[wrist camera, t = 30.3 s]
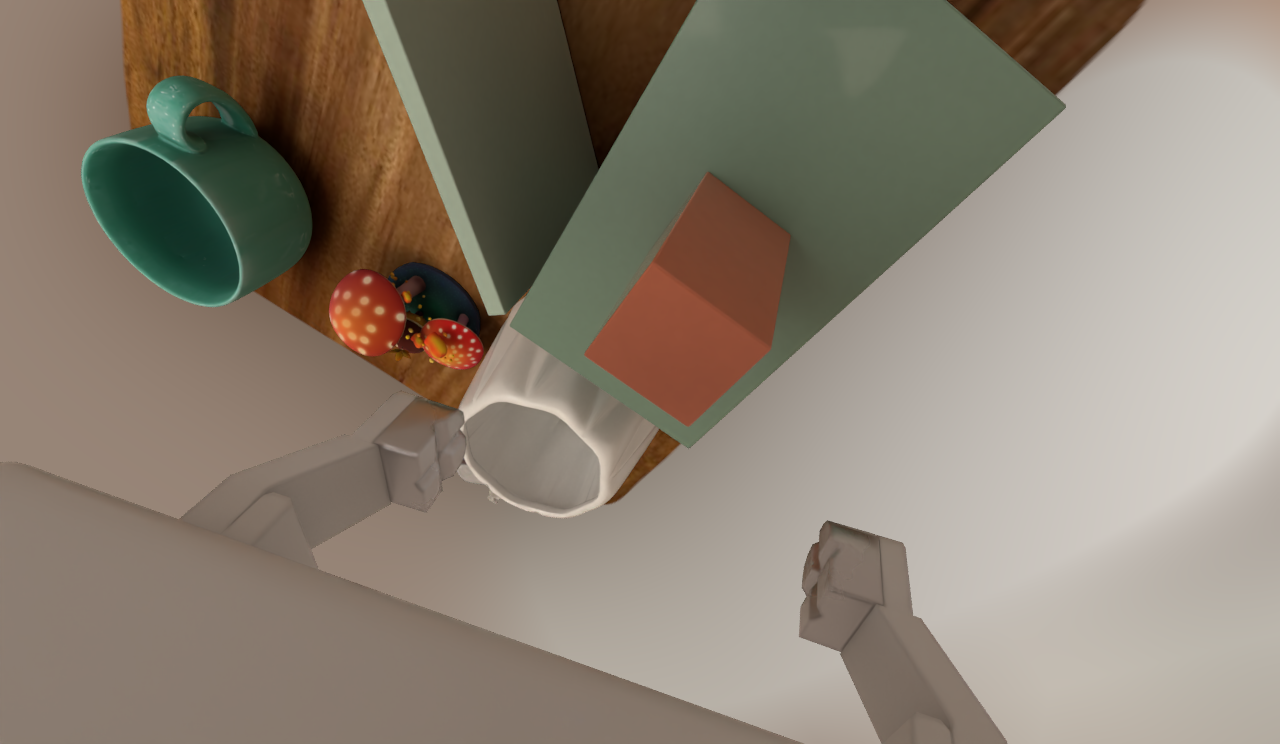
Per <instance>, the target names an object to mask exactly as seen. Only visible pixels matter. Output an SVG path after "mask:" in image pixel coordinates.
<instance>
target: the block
mask: <svg viewBox="0 0 1280 744" xmlns="http://www.w3.org/2000/svg"><path fill="white" fill-rule="evenodd" d="M790 239H791V235H790V234H789V233H788V232H786V231H785V230H784V229H782V228H781V227H780V226H778V225H777V224H776V223H775V222H773V221H772V220H771V219H769V218H768V217H767V216H765V215H764V214H763V213H762V212H760V211H759V210H758V209H756V208H755V207H754V206H752V205H751V204H750V203H749V202H747V201H746V200H745V199H743V198H742V197H741V196H739V195H738V194H737V193H736V192H734V191H733V190H732V189H730V188H729V187H728V186H726V185H725V184H724V183H722V182H721V181H720V180H719V179H717V178H716V177H715V176H713V175H712V174H711V173H709V172H706V173H705V174H704V176H703V177H702V179H701V180H700V181H699V183H698V184H697V185H696V187H695V188H694V190H693V191H692V192H691V194H690V195H689V197H688V198H687V199H686V201H685V202H684V203H683V205H682V206H681V208H680V209H679V210H678V212H677V213H676V215H675V216H674V217H673V219H672V220H671V221H670V223H669V224H668V226H667V227H666V228H665V230H664V231H663V233H662V234H661V235H660V237H659V238H658V239H657V241H656V242H655V244H654V245H653V246H652V248H651V249H650V251H649V252H648V254H647V255H646V257H645V259H644V260H643V262H642V263H641V265H640V266H639V268H638V270H637V271H636V273H635V274H634V276H633V277H632V279H631V281H630V282H629V284H628V285H627V287H626V288H625V290H624V292H623V293H622V295H621V296H620V298H619V299H618V301H617V302H616V304H615V306H614V307H613V309H612V310H611V312H610V313H609V315H608V317H607V318H606V320H605V321H604V323H603V324H602V326H601V328H600V329H599V331H598V332H597V334H596V335H595V337H594V339H593V340H592V342H591V343H590V345H589V346H588V348H587V349H586V351H585V353H584V356H585V357H587V358H588V359H589V360H591V361H592V362H594V363H595V364H597V365H598V366H600V367H601V368H603V369H604V370H605V371H607V372H608V373H610V374H611V375H613V376H614V377H616V378H617V379H618V380H620V381H621V382H623V383H624V384H626V385H627V386H629V387H630V388H632V389H633V390H634V391H636V392H637V393H639V394H640V395H642V396H643V397H645V398H646V399H647V400H649V401H650V402H652V403H653V404H655V405H656V406H658V407H659V408H660V409H662V410H663V411H665V412H666V413H668V414H669V415H671V416H672V417H674V418H675V419H676V420H678V421H679V422H681V423H682V424H684V425H685V426H687V427H689V426H691V425H692V424H693V423H694V422H695V421H696V420H697V419H698V418H699V417H700V416H701V415H702V414H703V413H704V412H706V411H707V410H708V409H709V408H710V407H711V406H712V405H713V404H714V403H715V402H716V401H717V400H718V399H719V398H720V397H721V396H722V395H724V394H725V393H726V392H727V391H728V390H729V389H730V388H731V387H732V386H733V385H734V384H735V383H736V382H737V381H738V380H739V379H740V378H742V377H743V376H744V375H745V374H746V373H747V372H748V371H749V370H750V369H751V368H752V367H753V366H754V365H755V364H756V363H757V362H759V361H760V360H761V359H762V358H763V357H764V356H765V355H766V354H767V353H768V352H769V351H770V350H771V348H772V342H773V336H774V331H775V325H776V319H777V314H778V308H779V302H780V296H781V291H782V285H783V279H784V274H785V268H786V262H787V257H788V251H789V245H790Z"/></svg>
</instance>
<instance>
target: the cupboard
mask: <svg viewBox="0 0 1280 744" xmlns="http://www.w3.org/2000/svg"><path fill="white" fill-rule="evenodd" d="M1065 108H1066V105H1065V104H1064V103H1063V102H1062V101H1061V100H1060V99H1059V98H1057V97H1056V96H1055V95H1054V94H1053V93H1052V92H1051V91H1049V90H1048V89H1047V88H1046V87H1045V86H1044V85H1043V84H1041V83H1040V82H1039V81H1038V80H1037V79H1036V78H1035V77H1033V76H1032V75H1031V74H1030V73H1029V72H1028V71H1027V70H1025V69H1024V68H1023V67H1022V66H1021V65H1020V64H1019V63H1017V62H1016V61H1015V60H1014V59H1013V58H1012V57H1011V56H1009V55H1008V54H1007V53H1006V52H1005V51H1004V50H1003V49H1001V48H1000V47H999V46H998V45H997V44H996V43H995V42H993V41H992V40H991V39H990V38H989V37H988V36H987V35H985V34H984V33H983V32H982V31H981V30H980V29H979V28H977V27H976V26H975V25H974V24H973V23H972V22H971V21H969V20H968V19H967V18H966V17H965V16H964V15H963V14H961V13H960V12H959V11H958V10H957V9H956V8H955V7H953V6H952V5H951V4H950V3H949V2H948V1H947V0H696V2H695V4H694V6H693V7H692V9H691V11H690V13H689V14H688V16H687V18H686V19H685V21H684V23H683V25H682V26H681V28H680V30H679V32H678V33H677V35H676V37H675V39H674V40H673V42H672V44H671V45H670V47H669V49H668V51H667V52H666V54H665V56H664V58H663V59H662V61H661V63H660V65H659V66H658V68H657V70H656V72H655V73H654V75H653V77H652V78H651V80H650V82H649V84H648V85H647V87H646V89H645V91H644V92H643V94H642V96H641V98H640V99H639V101H638V103H637V104H636V106H635V108H634V110H633V111H632V113H631V115H630V117H629V118H628V120H627V122H626V124H625V125H624V127H623V129H622V131H621V132H620V134H619V136H618V137H617V139H616V141H615V143H614V144H613V146H612V148H611V150H610V151H609V153H608V155H607V157H606V158H605V160H604V162H603V163H602V165H601V167H600V169H599V170H598V172H597V174H596V176H595V177H594V179H593V181H592V183H591V184H590V186H589V188H588V190H587V191H586V193H585V195H584V196H583V198H582V200H581V202H580V203H579V205H578V207H577V209H576V210H575V212H574V214H573V216H572V217H571V219H570V221H569V222H568V224H567V226H566V228H565V229H564V231H563V233H562V235H561V236H560V238H559V240H558V242H557V243H556V245H555V247H554V248H553V250H552V252H551V254H550V255H549V257H548V259H547V261H546V262H545V264H544V266H543V268H542V269H541V271H540V273H539V275H538V276H537V278H536V280H535V281H534V283H533V285H532V287H531V288H530V290H529V292H528V294H527V295H526V297H525V299H524V301H523V302H522V304H521V306H520V307H519V309H518V311H517V313H516V314H515V316H514V318H513V320H512V321H511V323H510V327H511V328H513V329H514V330H516V331H517V332H519V333H520V334H522V335H523V336H525V337H526V338H527V339H529V340H530V341H532V342H533V343H535V344H536V345H538V346H539V347H541V348H542V349H544V350H545V351H546V352H548V353H549V354H551V355H552V356H554V357H555V358H557V359H558V360H560V361H561V362H563V363H564V364H565V365H567V366H568V367H570V368H571V369H573V370H574V371H576V372H577V373H579V374H580V375H582V376H583V377H585V378H586V379H587V380H589V381H590V382H592V383H593V384H595V385H596V386H598V387H599V388H601V389H602V390H604V391H605V392H606V393H608V394H609V395H611V396H612V397H614V398H615V399H617V400H618V401H620V402H621V403H623V404H624V405H625V406H627V407H628V408H630V409H631V410H633V411H634V412H636V413H637V414H639V415H640V416H642V417H643V418H644V419H646V420H647V421H649V422H650V423H652V424H653V425H655V426H656V427H658V428H659V429H661V430H662V431H664V432H665V433H666V434H668V435H669V436H671V437H672V438H674V439H675V440H677V441H678V442H680V443H681V444H683V445H684V446H686V447H687V448H690V447H691V446H693V445H694V444H695V443H696V442H697V441H698V440H699V439H700V438H701V437H702V436H704V435H705V434H706V433H707V432H708V431H709V430H710V429H711V428H712V427H714V425H716V424H717V423H718V422H719V421H720V420H721V419H722V418H724V417H725V416H726V415H727V414H728V413H729V412H730V411H731V410H732V409H733V408H735V406H737V405H738V404H739V403H740V402H741V401H742V400H743V399H744V398H746V396H748V395H749V394H750V393H751V392H752V391H753V390H754V389H756V388H757V387H758V386H759V385H760V384H761V383H762V382H763V381H764V380H766V379H767V378H768V377H769V376H770V375H771V374H772V373H773V372H774V371H775V370H777V369H778V368H779V367H780V366H781V365H782V364H783V363H784V362H785V361H786V360H788V359H789V358H790V357H791V356H792V355H793V354H794V353H795V352H796V351H798V350H799V349H800V348H801V347H802V346H803V345H804V344H805V343H806V342H807V341H809V340H810V339H811V338H812V337H813V336H814V335H815V334H816V333H817V332H819V331H820V330H821V329H822V328H823V327H824V326H825V325H826V324H827V323H828V322H830V321H831V320H832V319H833V318H834V317H835V316H836V315H837V314H838V313H840V312H841V311H842V310H843V309H844V308H845V307H846V306H847V305H848V304H850V303H851V302H852V301H853V300H854V299H855V298H856V297H857V296H858V295H859V294H861V293H862V292H863V291H864V290H865V289H866V288H867V287H868V286H869V285H870V284H872V283H873V282H874V281H875V280H876V279H877V278H878V277H879V276H880V275H882V274H883V273H884V272H885V271H886V270H887V269H888V268H889V267H890V266H892V264H894V263H895V262H896V261H897V260H898V259H899V258H900V257H901V256H902V255H904V254H905V253H906V252H907V251H908V250H909V249H910V248H911V247H913V246H914V245H915V244H916V243H917V242H918V241H919V240H920V239H921V238H922V237H924V236H925V235H926V234H927V233H928V232H929V231H930V230H931V229H932V228H934V227H935V226H936V225H937V224H938V223H939V222H940V221H941V220H942V219H943V218H945V216H947V215H948V214H949V213H950V212H951V211H952V210H953V209H955V207H957V206H958V205H959V204H960V203H961V202H962V201H963V200H964V199H966V198H967V197H968V196H969V195H970V194H971V193H972V192H973V191H974V190H975V189H976V188H978V187H979V186H980V185H981V184H982V183H983V182H984V181H985V180H986V179H988V178H989V177H990V176H991V175H992V174H993V173H994V172H995V171H997V170H998V169H999V168H1000V167H1001V166H1002V165H1003V164H1004V163H1005V162H1006V161H1008V160H1009V159H1010V158H1011V157H1012V156H1013V155H1014V154H1015V153H1016V152H1018V150H1020V149H1021V148H1022V147H1023V146H1024V145H1025V144H1026V143H1027V142H1029V141H1030V140H1031V139H1032V138H1033V137H1034V136H1035V135H1036V134H1037V133H1038V132H1040V131H1041V130H1042V129H1043V128H1044V127H1045V126H1046V125H1047V124H1048V123H1050V122H1051V121H1052V120H1053V119H1054V118H1055V117H1056V116H1057V115H1058V114H1059V113H1061V112H1062V111H1063V110H1064V109H1065ZM706 172H709V173H711V174H712V175H713V176H715V177H716V178H717V179H719V180H720V181H721V182H722V183H724V184H725V185H726V186H728V187H729V188H730V189H732V190H733V191H734V192H736V193H737V194H738V195H739V196H741V197H742V198H743V199H745V200H746V201H747V202H749V203H750V204H751V205H752V206H754V207H755V208H756V209H758V210H759V211H760V212H762V213H763V214H764V215H765V216H767V217H768V218H769V219H771V220H772V221H773V222H775V223H776V224H777V225H778V226H780V227H781V228H782V229H784V230H785V231H786V232H788V233H789V234H790V235H791V239H790V245H789V251H788V257H787V262H786V268H785V274H784V279H783V285H782V291H781V296H780V302H779V308H778V314H777V319H776V325H775V331H774V336H773V342H772V348H771V350H770V351H769V352H768V353H767V354H766V355H765V356H764V357H763V358H762V359H761V360H760V361H759V362H757V363H756V364H755V365H754V366H753V367H752V368H751V369H750V370H749V371H748V372H747V373H746V374H745V375H744V376H743V377H742V378H740V379H739V380H738V381H737V382H736V383H735V384H734V385H733V386H732V387H731V388H730V389H729V390H728V391H727V392H726V393H725V394H724V395H722V396H721V397H720V398H719V399H718V400H717V401H716V402H715V403H714V404H713V405H712V406H711V407H710V408H709V409H708V410H707V411H706V412H704V413H703V414H702V415H701V416H700V417H699V418H698V419H697V420H696V421H695V422H694V423H693V424H692V425H691V426H689V427H687V426H685V425H684V424H682V423H681V422H679V421H678V420H676V419H675V418H674V417H672V416H671V415H669V414H668V413H666V412H665V411H663V410H662V409H660V408H659V407H658V406H656V405H655V404H653V403H652V402H650V401H649V400H647V399H646V398H645V397H643V396H642V395H640V394H639V393H637V392H636V391H634V390H633V389H632V388H630V387H629V386H627V385H626V384H624V383H623V382H621V381H620V380H618V379H617V378H616V377H614V376H613V375H611V374H610V373H608V372H607V371H605V370H604V369H603V368H601V367H600V366H598V365H597V364H595V363H594V362H592V361H591V360H589V359H588V358H587V357H585V356H584V353H585V351H586V349H587V348H588V346H589V345H590V343H591V342H592V340H593V339H594V337H595V335H596V334H597V332H598V331H599V329H600V328H601V326H602V324H603V323H604V321H605V320H606V318H607V317H608V315H609V313H610V312H611V310H612V309H613V307H614V306H615V304H616V302H617V301H618V299H619V298H620V296H621V295H622V293H623V292H624V290H625V288H626V287H627V285H628V284H629V282H630V281H631V279H632V277H633V276H634V274H635V273H636V271H637V270H638V268H639V266H640V265H641V263H642V262H643V260H644V259H645V257H646V255H647V254H648V252H649V251H650V249H651V248H652V246H653V245H654V244H655V242H656V241H657V239H658V238H659V237H660V235H661V234H662V233H663V231H664V230H665V228H666V227H667V226H668V224H669V223H670V221H671V220H672V219H673V217H674V216H675V215H676V213H677V212H678V210H679V209H680V208H681V206H682V205H683V203H684V202H685V201H686V199H687V198H688V197H689V195H690V194H691V192H692V191H693V190H694V188H695V187H696V185H697V184H698V183H699V181H700V180H701V179H702V177H703V176H704V174H705V173H706Z"/></svg>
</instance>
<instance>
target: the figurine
mask: <svg viewBox="0 0 1280 744" xmlns="http://www.w3.org/2000/svg"><path fill="white" fill-rule="evenodd" d="M329 315H330V320H331V323H332V326H333V328H334V330H335V331H336V333H337V335H338V336H339V337H340V338H341V340H342V341H343V342H344V343H345V344H346V345H348V346H349V347H350V348H351V349H353V350H355V351H356V352H358V353H360V354H363V355H366V356H379V355H382V354H385V353H387V352H388V351H389V352H390V353H396V354H395V358H396V361H399V360H401V359H402V357H403V355H404V356H405V357H407V358H410V359H411V357H410V355H409V354H408V353H420V352H422V351H425V352H426V353H427V354H428V355H429V356H430V357H431V358H430V359H429V361H430V362H431V363H434V360H435V361H437V362H439V363H440V364H442V365H445V366H447V367H450V368H454V369H469V368H471V367H474V366H475V365H477V364H478V363H479V362H480V361H481V359H482V357H483V353H484V347H483V344H482V342H481V340H480V338H479V337H478V336H479V332H480V316H479V311H478V309H477V307H476V305H475V303H474V302H473V300H472V299H471V297H470V296H469V294H468V293H467V292H466V291H465V290H464V289H463V288H462V287H461V286H460V285H459V284H458V283H457V282H456V281H455V280H454V279H452V278H451V277H450V276H448V275H447V274H445V273H444V272H442V271H440V270H438V269H436V268H434V267H432V266H429V265H426V264H422V263H415V262H412V263H408V264H404V265H402V266H400V267H398V268H397V269H396V270H395V271H394V272H390V276H389V278H388V279H387V278H385V277H384V276H383V275H381V274H379V273H378V272H375V271H372V270H368V269H360V270H355V271H353V272H351V273H349V274H348V275H346V276H345V277H344V278H343V279H342V280H341V281H340V282H339V284H338V285H337V286H336V288H335V290H334V292H333V294H332V297H331V300H330V307H329ZM395 345H396V346H397V347H398V348H399V349H395V350H391V349H392V348H393V347H394V346H395ZM390 350H391V351H390ZM432 358H433V359H434V360H433V359H432Z"/></svg>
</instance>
